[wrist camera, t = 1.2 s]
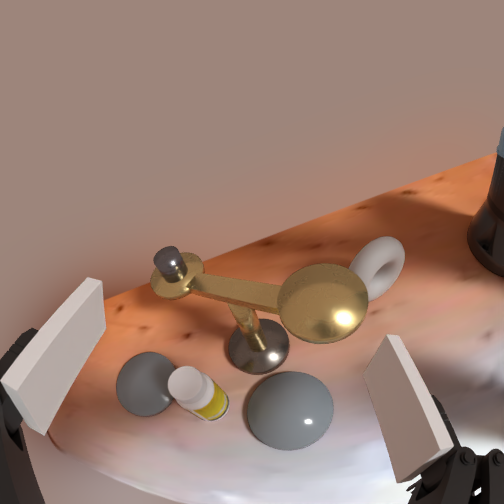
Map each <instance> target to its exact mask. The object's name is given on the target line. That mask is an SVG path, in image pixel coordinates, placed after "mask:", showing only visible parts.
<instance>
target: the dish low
mask: <svg viewBox="0 0 504 504" xmlns="http://www.w3.org/2000/svg"><path fill="white" fill-rule="evenodd" d="M175 370H176V369H175V367H174V365H173V364H172V363H171V362H170V361H169V360H168V359H167V358H166V357H165V356H163V355H161V354H158V353H154V352H147V353H142V354H139V355H137V356H135V357H133V358H132V359H131V360H129V361H128V362H127V363H126V364H125V365H124V367H123V368H122V370H121V372H120V374H119V376H118V379H117V386H116V390H117V396H118V399H119V401H120V403H121V404H122V406H123V407H124V408H125V409H126V410H128V411H129V412H131V413H133V414H135V415H138V416H143V417H148V416H154V415H156V414H159V413H160V412H162V411H163V410H165V409H166V408H167V407H168V406H169V405H170V404H171V402H172V401H173V399H174V397H173V396H172V395H171V394H170V392H169V390H168V380H169V377H170V376H171V374H172V373H173V372H174V371H175Z"/></svg>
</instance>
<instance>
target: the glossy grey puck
mask: <svg viewBox="0 0 504 504" xmlns="http://www.w3.org/2000/svg"><path fill="white" fill-rule="evenodd" d="M332 416H333V401H332V397H331V395H330V393H329V391H328V389H327V388H326V386H325V385H324V384H323V383H322V382H321V381H320V380H318V379H317V378H315V377H313V376H311V375H309V374H306V373H301V372H285V373H280V374H277V375H275V376H272V377H270V378H268V379H267V380H265V381H264V382H263V383H262V384H260V385H259V386H258V388H257V389H256V390H255V391H254V393H253V394H252V396H251V398H250V401H249V404H248V410H247V417H248V422H249V425H250V428H251V430H252V431H253V433H254V434H255V436H256V437H257V438H258V439H259V440H261V441H262V442H263V443H265V444H266V445H268V446H270V447H272V448H275V449H279V450H298V449H302V448H305V447H307V446H309V445H311V444H313V443H315V442H316V441H317V440H319V439H320V438H321V437H322V436H323V435H324V433H325V432H326V431H327V429H328V428H329V425H330V423H331V420H332Z"/></svg>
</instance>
